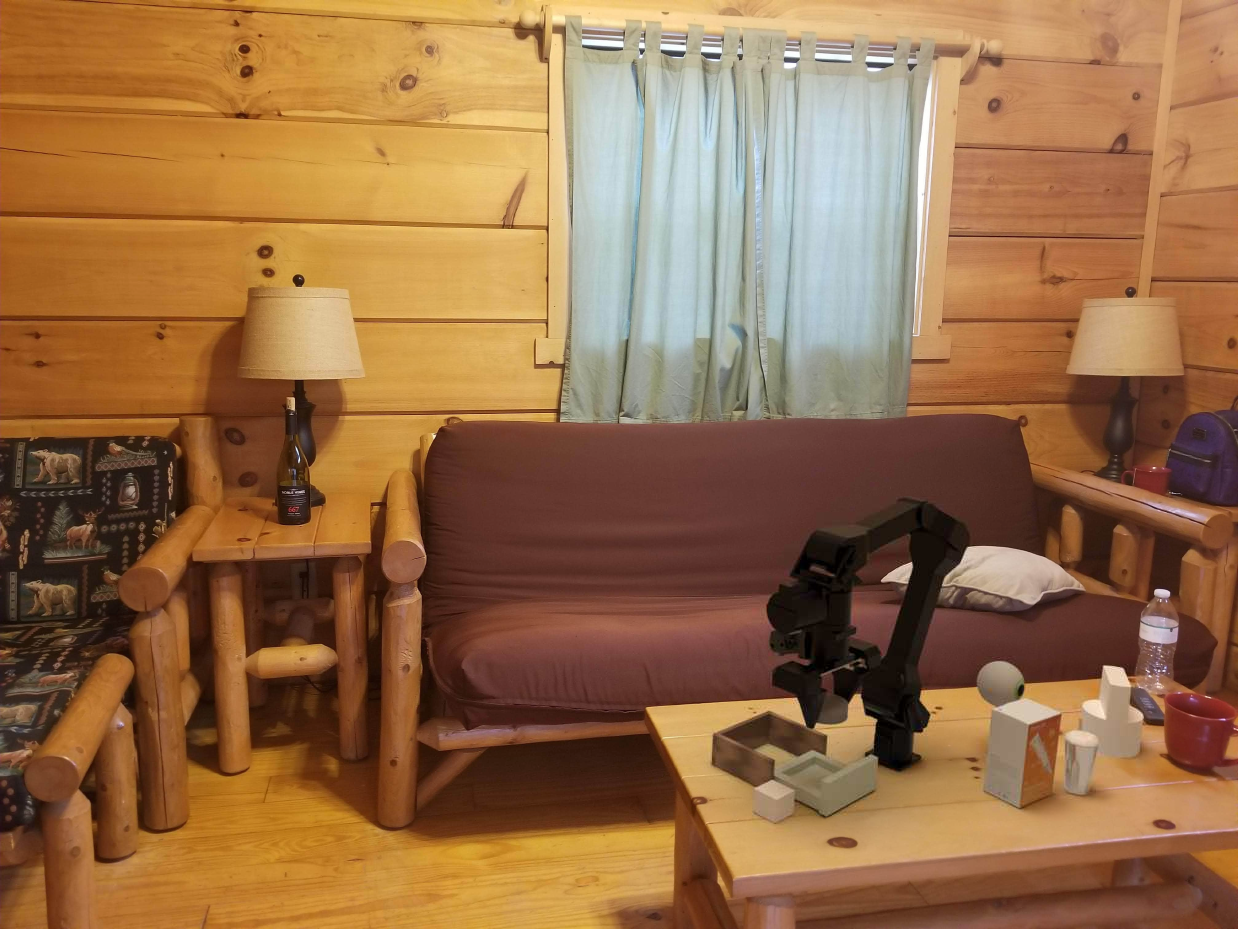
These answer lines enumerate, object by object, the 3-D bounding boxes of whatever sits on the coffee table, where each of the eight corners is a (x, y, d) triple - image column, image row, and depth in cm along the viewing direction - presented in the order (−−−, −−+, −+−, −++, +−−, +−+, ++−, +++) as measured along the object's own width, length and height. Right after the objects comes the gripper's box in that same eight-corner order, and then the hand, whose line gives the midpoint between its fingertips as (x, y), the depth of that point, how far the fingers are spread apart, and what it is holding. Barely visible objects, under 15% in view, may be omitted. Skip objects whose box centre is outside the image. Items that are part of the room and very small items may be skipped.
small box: (1019, 810, 142) (1028, 724, 139) (982, 790, 147) (990, 708, 145) (1053, 795, 146) (1063, 712, 144) (1015, 777, 151) (1024, 696, 149)
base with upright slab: (1143, 762, 157) (1152, 690, 155) (1081, 752, 160) (1089, 682, 158) (1134, 738, 166) (1143, 670, 163) (1075, 729, 168) (1083, 662, 166)
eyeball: (1003, 766, 155) (1012, 674, 152) (962, 749, 160) (970, 661, 157) (1025, 752, 159) (1035, 664, 157) (984, 737, 165) (992, 651, 162)
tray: (763, 785, 146) (765, 753, 145) (813, 761, 154) (815, 731, 153) (826, 816, 138) (828, 783, 137) (875, 789, 146) (878, 757, 145)
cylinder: (820, 701, 148) (821, 689, 148) (856, 715, 144) (857, 702, 143) (793, 713, 144) (794, 700, 144) (829, 728, 139) (830, 715, 139)
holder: (711, 764, 153) (712, 733, 152) (767, 739, 162) (769, 710, 161) (769, 793, 145) (771, 761, 144) (825, 765, 153) (827, 735, 152)
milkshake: (1090, 783, 150) (1097, 721, 148) (1094, 800, 145) (1102, 736, 143) (1057, 778, 151) (1064, 716, 150) (1060, 794, 146) (1067, 731, 145)
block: (771, 802, 142) (772, 779, 141) (793, 813, 139) (794, 790, 138) (752, 811, 139) (754, 788, 139) (775, 823, 136) (776, 800, 136)
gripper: (823, 591, 153) (818, 686, 156) (743, 618, 141) (739, 721, 144) (886, 610, 145) (879, 710, 148) (806, 640, 133) (801, 748, 136)
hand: (824, 721), depth 144 cm, fingers closed on cylinder, 6 cm apart
